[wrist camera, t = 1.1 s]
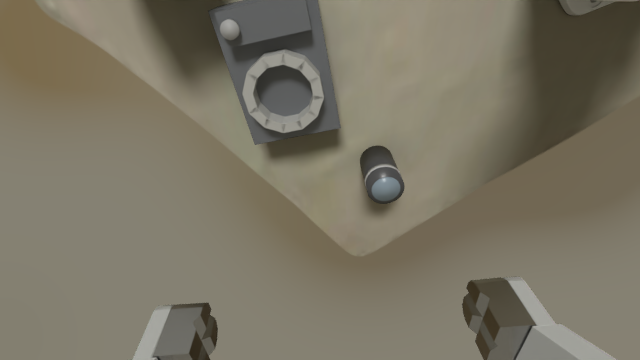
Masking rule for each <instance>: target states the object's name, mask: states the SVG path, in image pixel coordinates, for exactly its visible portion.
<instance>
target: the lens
mask: <svg viewBox="0 0 640 360" xmlns="http://www.w3.org/2000/svg"><path fill="white" fill-rule="evenodd" d="M360 164H361V168H362V172H363V176H364V180H365V186H366V189H367V192H368V195H369V197H370V198H371V199H372V200H373V201H374V202H377V203H381V204H386V203H391V202H393V201H395V200H397V199H398V198H399V197H400V196H401V195H402V193H403V191H404V182H403V180H402V177H401V174H400V172H399V170H398V168H397V166H396V164H395V161H394V159H393V157H392V154H391V152H390V151H389V150H388V149H387V148H385V147H383V146H373V147H370V148H368V149H366V150H365V151H364V152H363V154H362V155H361V158H360Z"/></svg>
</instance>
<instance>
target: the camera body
mask: <svg viewBox="0 0 640 360" xmlns="http://www.w3.org/2000/svg"><path fill="white" fill-rule="evenodd" d="M208 12H209V15H210V18H211V21H212V23H213V26H214V29H215V32H216V35H217V38H218V41H219V43H220V46H221V49H222V52H223V55H224V58H225V61H226V63H227V66H228V69H229V72H230V75H231V78H232V81H233V83H234V86H235V89H236V92H237V95H238V98H239V101H240V104H241V106H242V109H243V112H244V115H245V118H246V121H247V124H248V126H249V129H250V132H251V135H252V138H253V141H254V144H255V145H256V144H261V143H267V142H272V141H277V140H282V139H287V138H292V137H297V136H302V135H307V134H313V133H318V132H323V131H328V130H333V129H338V128H340V122H339V117H338V111H337V105H336V100H335V94H334V89H333V83H332V78H331V72H330V67H329V61H328V56H327V50H326V45H325V39H324V34H323V28H322V23H321V17H320V12H319V6H318V1H317V0H243V1H239V2H234V3H230V4H226V5H222V6H219V7H216V8H214V9H211V10H209V11H208Z"/></svg>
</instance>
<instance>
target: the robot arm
mask: <svg viewBox="0 0 640 360" xmlns="http://www.w3.org/2000/svg"><path fill="white" fill-rule="evenodd" d="M559 1H560V3H561V5H562V7H563V9H564V10H565V12H566V13H567V14H569V15H583V14H586V13H588V12H591V11H593V10H596V9H598V8H601V7H603V6H606V5H608V4H611V3H613V2H616V1H640V0H592V1H590V0H559ZM467 290H468V292H469V293H468V294H467V295H466V296H465V297H464V299H463V304H462V306H463V314H464V317H465V320H466V322H467V325H468V327H469V328H470V329H471V330H472V331H474V332H475V333H476V334H477V337H476V340H475V342H476V344H477V346H478V348H479V350H480V353H481V355H482V357H483V359H484V360H617V359H615V358H614V357H612V356H610V355H609V354H608V353H606V352H604V351H603V350H601V349H600V348H598V347H597V346H595V345H594V344H592V343H590V342H589V341H587V340H585V339H584V338H583V337H581V336H580V335H578V334H576V333H575V332H573V331H572V330H570V329H568V328H567V327H566V326H564V325H562V324H556V323H555V322H554V320H553V319H552V318H551V316H550V315H549V313H548V312H547V311H546V309H545V308H544V307H543V305H542V304H541V302H540V301H539V300H538V298H537V297H536V296H535V294H534V293H533V292H532V290H531V289H530V287H529V286H528V285H527V283H526V282H525V281H524V279H522V278H521V277H507V278H491V279H480V280H471V281H470V282H468V285H467ZM210 312H211V308H210V305H209V303H195V304H179V305H163V306H158V307H157V308H156V309H155V310H154V311H153V313H152V316H151V318H150V320H149V323H148V325H147V327H146V329H145V332H144V334H143V337H142V339H141V341H140V343H139V345H138V348H137V350H136V353H135V355H134V357H133V359H129V360H210V358H209V355H210V354H211V353H212V352H213V350H214V349H215V347H216V342H217V332H218V328H217V322H216V320H215V318H214V317H213V316H211V315H210Z"/></svg>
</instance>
